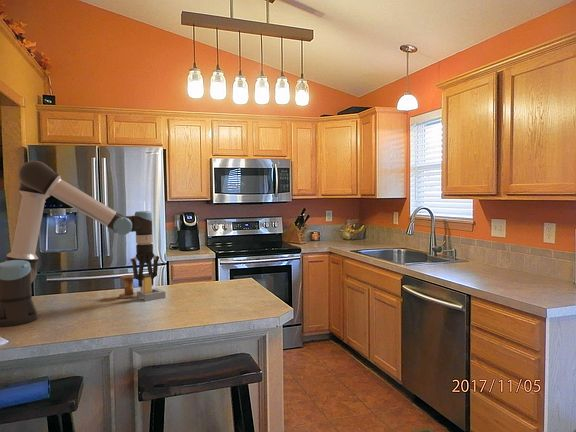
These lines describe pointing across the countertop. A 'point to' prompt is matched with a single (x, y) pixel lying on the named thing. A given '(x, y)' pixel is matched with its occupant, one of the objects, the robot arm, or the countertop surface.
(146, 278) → the yellow upright block
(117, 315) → the countertop surface
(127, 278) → the bobbin
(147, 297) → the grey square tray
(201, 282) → the countertop surface
